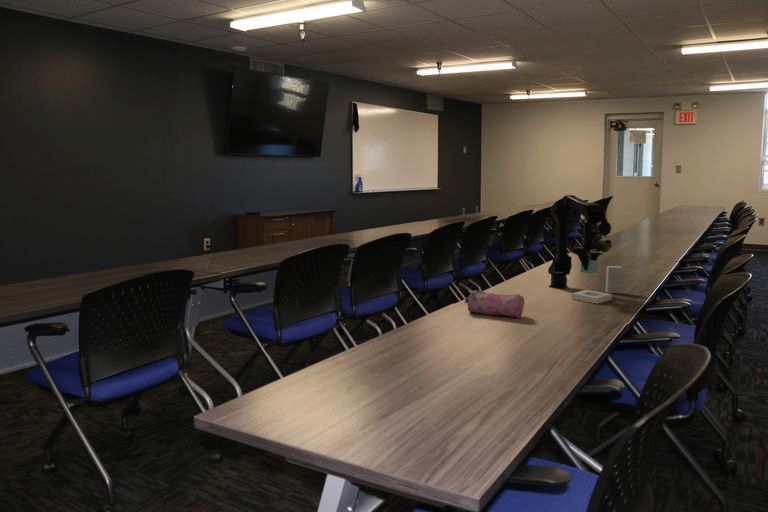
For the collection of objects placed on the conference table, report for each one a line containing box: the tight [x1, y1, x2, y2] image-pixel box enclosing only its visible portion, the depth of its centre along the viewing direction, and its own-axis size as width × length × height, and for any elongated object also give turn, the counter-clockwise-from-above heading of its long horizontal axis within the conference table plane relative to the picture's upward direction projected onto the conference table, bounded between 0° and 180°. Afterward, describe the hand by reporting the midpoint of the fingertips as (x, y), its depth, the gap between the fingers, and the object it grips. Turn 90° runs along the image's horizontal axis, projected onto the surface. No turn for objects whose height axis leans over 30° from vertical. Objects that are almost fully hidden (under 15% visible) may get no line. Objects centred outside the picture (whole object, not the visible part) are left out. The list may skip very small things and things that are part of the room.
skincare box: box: [604, 265, 623, 295], centre depth 274 cm, size 6×4×12 cm
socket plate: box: [570, 289, 613, 305], centre depth 260 cm, size 12×12×2 cm
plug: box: [580, 258, 599, 275], centre depth 260 cm, size 5×5×6 cm
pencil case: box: [464, 289, 525, 319], centre depth 231 cm, size 21×9×9 cm, turn 63°
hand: (589, 269), depth 260 cm, fingers closed on plug, 5 cm apart
